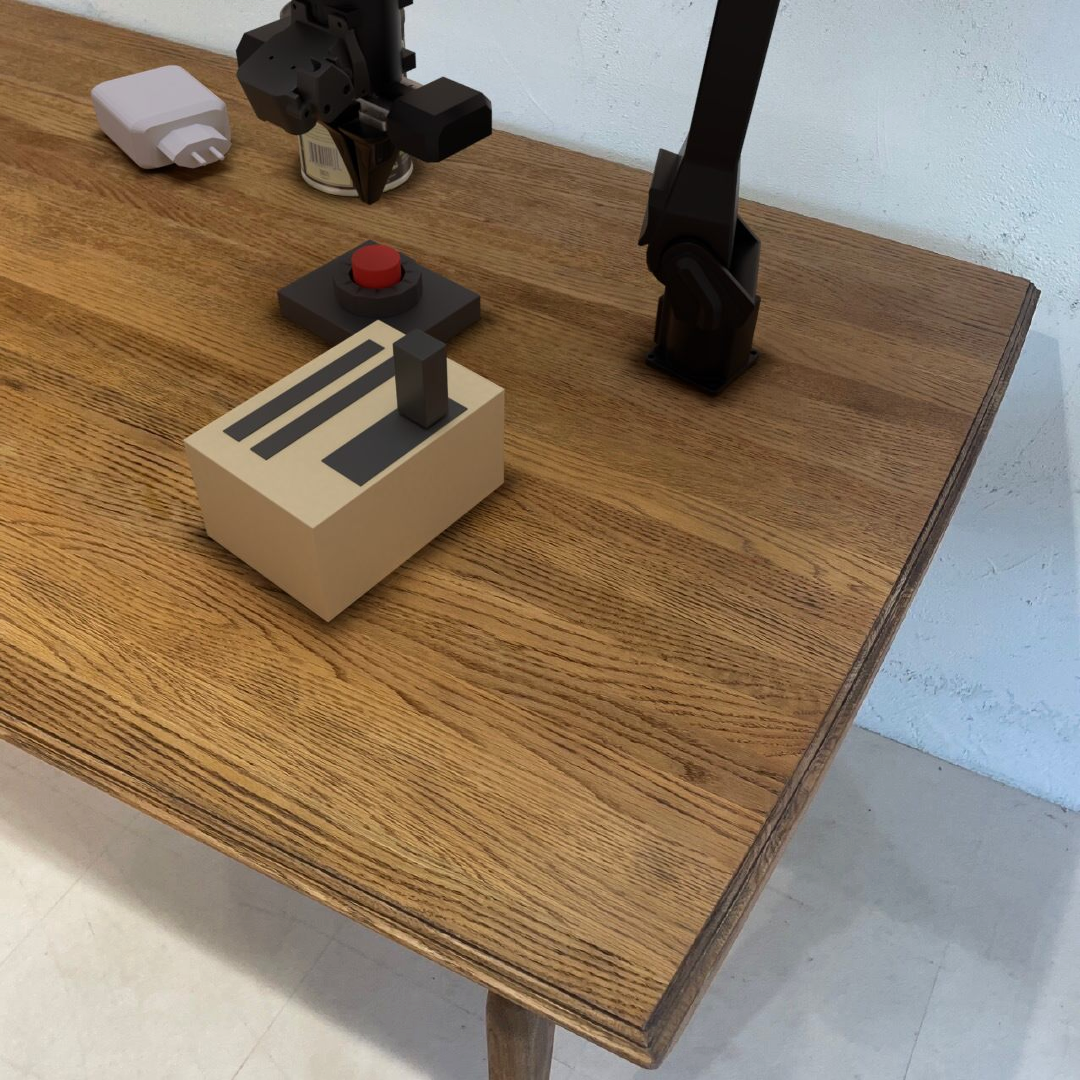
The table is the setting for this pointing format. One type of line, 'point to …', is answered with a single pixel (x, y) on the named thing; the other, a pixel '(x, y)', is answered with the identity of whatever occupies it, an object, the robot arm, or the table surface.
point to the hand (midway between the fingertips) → (370, 201)
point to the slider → (421, 377)
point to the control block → (378, 301)
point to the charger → (163, 118)
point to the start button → (376, 266)
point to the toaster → (344, 471)
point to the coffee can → (325, 161)
